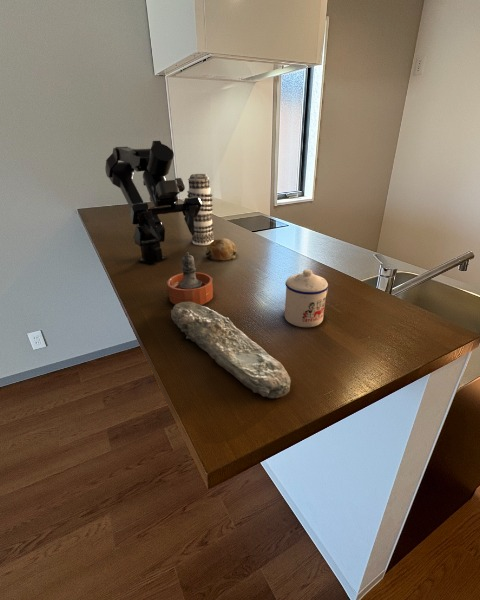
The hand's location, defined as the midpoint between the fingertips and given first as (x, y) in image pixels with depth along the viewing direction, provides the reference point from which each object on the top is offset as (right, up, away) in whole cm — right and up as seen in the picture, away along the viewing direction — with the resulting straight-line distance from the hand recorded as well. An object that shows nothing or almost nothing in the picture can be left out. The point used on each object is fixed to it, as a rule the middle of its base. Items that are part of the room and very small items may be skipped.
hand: (177, 237), depth 84 cm
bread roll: (+10, -2, +27) cm, 29 cm away
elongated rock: (+13, -26, -21) cm, 36 cm away
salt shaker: (+4, -16, -2) cm, 16 cm away
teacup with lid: (+32, -20, -10) cm, 40 cm away
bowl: (+4, -16, -2) cm, 17 cm away
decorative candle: (+2, +6, +42) cm, 42 cm away
